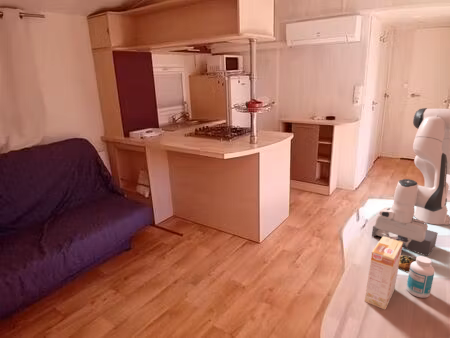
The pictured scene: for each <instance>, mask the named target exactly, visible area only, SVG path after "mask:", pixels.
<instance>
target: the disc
mask: <svg viewBox="0 0 450 338" xmlns="http://www.w3.org/2000/svg"><path fill="white" fill-rule="evenodd" d="M390 239H394V240H397V241H401V242H403V245H402V246H404V242H405V240H404V239H402V238H400V237H391V238H390Z"/></svg>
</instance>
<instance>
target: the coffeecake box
mask: <svg viewBox="0 0 450 338" xmlns="http://www.w3.org/2000/svg"><path fill="white" fill-rule="evenodd" d="M402 245H403V242H401V241H397V240H394V239H390V238H388V237H384V236H383V237H381V238H380V240H379V241H378V243H377V244H376V246H374V248H373V249H372V252H371V257H370V262H369V263H370V264H369V271H368V279H367V283H366V284H367V285H366V290H365V291H366V292H365V297H364V302H366V303H368V304H370V305H373V306H375V307H378V308H380V309H382V310H386V308H387V307H388V305H389V303H390V300H391V298H392V296H393V294H394V291H395V289H396V283H397V277H398V272H399V268H398V267H399V261H400V256H401V255H402V250H403V247H402Z"/></svg>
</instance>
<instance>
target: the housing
mask: <svg viewBox="0 0 450 338" xmlns="http://www.w3.org/2000/svg"><path fill="white" fill-rule="evenodd" d="M438 233H439V232H437V231H433V230H430V229H429V230H428V229H427V231H426V234H425V239H424V241H422V242H419V241H415V240H411V242H409V244H408V247H406V246H402V249H406V250H409V251H411V252H414V251H416V252H415V253H417V252H419V253H418V254H420V253H422V254H421V255H423V254H424V255H423V256H425V257H426V256H429V255H430V253H431V252H432V251H433V250H434V249H435V247H436V243H437V239H438V238H437V237H438ZM398 237H400V238H402V239H404V240H405V241H406V242H408V241H409V240H408V238H406V237H403V236H400V235H398Z"/></svg>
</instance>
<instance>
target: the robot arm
mask: <svg viewBox="0 0 450 338" xmlns="http://www.w3.org/2000/svg"><path fill="white" fill-rule="evenodd" d="M412 123H413V126H414V128H415V129H417V130H416V133H415V135H414V136H415V137H414V139H413V143H412V150H413V152H414V155H415V157H414V160H413V162H414V165H415V167H416V168H417V169H418V170H419V171H420V172H421V174H422V176H423V179H424V185H420V184H418V182H417V181H416V180H413V179H409V178H404V179H400V180H398V182H397V184H396V187H395V190H394V194H393V204H392V207H384V208H382V209H381V210H379V215H378V216H377V218H376V220H375V223H374V225H375V227H376V228H377V229H381V230H384V231H385V235H386V237H388V238H391V236H389V232H390V233H393V234H396V235H400V236H403V237H406V238H408V240H409V241H408V242H406V241H405V242H404V246H406V247H408V244H409V242H411V240H415V241H419V242H422V241H424V239H425V234H426V231H427V230H428V228H429V226H428V224H430V225H437V226H438V225H445V226H449V225H450V215H449V214H448V208H447V203H448V202H447V201H448V198H447V196H448V192H449V187H450V186H449V183H448V182H447V175H449V176H450V108H444V107H443V108H439V107H438V108H427V107H425V108H419V109H417V110H416V111H415V113H414V116H413V117H412Z"/></svg>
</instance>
